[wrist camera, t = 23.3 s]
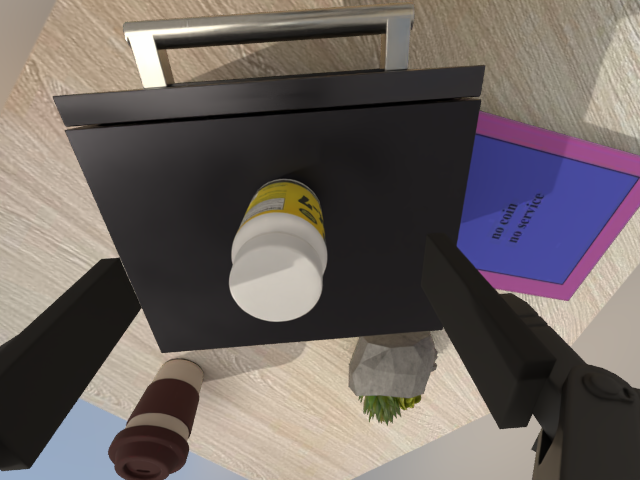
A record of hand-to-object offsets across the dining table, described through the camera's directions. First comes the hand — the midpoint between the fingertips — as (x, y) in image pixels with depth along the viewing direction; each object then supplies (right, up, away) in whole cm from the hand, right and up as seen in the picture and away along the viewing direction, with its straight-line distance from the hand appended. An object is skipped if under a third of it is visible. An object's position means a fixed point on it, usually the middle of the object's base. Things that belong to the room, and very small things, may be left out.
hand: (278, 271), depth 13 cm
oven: (-1, +9, +24) cm, 26 cm away
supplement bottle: (0, +3, +7) cm, 8 cm away
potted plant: (+13, -16, +39) cm, 44 cm away
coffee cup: (-22, -21, +40) cm, 50 cm away
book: (+27, +5, +28) cm, 39 cm away
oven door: (-2, +19, +18) cm, 27 cm away
